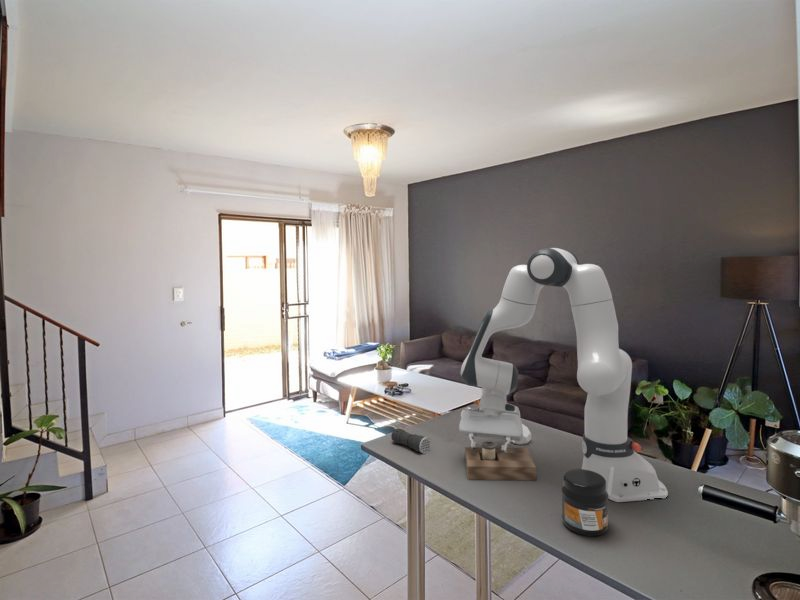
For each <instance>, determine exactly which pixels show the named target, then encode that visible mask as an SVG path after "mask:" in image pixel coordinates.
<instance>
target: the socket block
mask: <svg viewBox="0 0 800 600" xmlns="http://www.w3.org/2000/svg"><path fill="white" fill-rule="evenodd" d="M501 448H502V447H495V461H489V460H482V446H479V447H478V446H476V449H471V446H468V447H467V446H466V447H465V449H464V451H465V467H466V474H467V479H468V480H485V481H487V480H488V481H489V480H490V481H493V480H496V481H502V480H503V481H537V466H536V464H535V462H534V460H533V457H532V456H531V454H530V451H529V450H528V447H508V448H507V453H504V452H502V451H501Z"/></svg>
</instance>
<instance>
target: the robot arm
mask: <svg viewBox="0 0 800 600" xmlns="http://www.w3.org/2000/svg"><path fill="white" fill-rule="evenodd" d="M545 286H546V287H557V288H558V287H559V288H562V287H563V288H564V289H565V290H566V292H567V293H568V298H569V303H570V308H571V313H572V316H573V317H572V319H573V321H574V322H573V323H574V327H575V333H576V353H577V356H576V357H577V358H576V359H577V370H576V371H577V373H576V379H577V383H578V386H580V389H582V390H583V391H584V392H586V393H587V394H586V395H587V396H586V401H585V405H584V433H583V434H582V447H581V448H582V453H583V456H582V457H583V459H582V465H581V469H585V470H590V471H593V472H596V473H598V474H600V475H601V476H603V477H604V478H605V480H606V491H607V493H608V496H609V499H608V500H611V501H613V502H615V503H625V502H635V501H636V502H637V501H648V500H647V499H650V500H655V499H654V498H662V499H667V498H668V497H667V496H669V492H668V489H667V487H666V486H665V484H664V483H663V482H662V481H661V480H659V479H658V475H657V472H656V470H655V468H654V466H653V465H652V464H651V463H650V462H648V461H647V460H646V459H645V458H644V457H643V456H642V455H640V454H638V453H641V451H642V449H643V448H642V446H641V445H640V444H639V443H637V442H635V441H634V440H633V439H632V438H630V437H628V413H629V411H628V410H629V404H630V394H631V385H632V384H631V383H632V373H633V362H632V358H631V357H630V355H629V354H628V353H627V352H626V351H625V350H623V349H622V348H620V347H619V346H620V345H619V344H620V343H619V323H618V318H617V314H616V308H615V304H614V300H613V295H612V290H611V288H610V285H609V282H608V279H607V277H606V275H605V271H604V270H603V269H602V267H600V266H599V265H596V264H594V263H583V264H580V261H579V259H578V257H577V256H576V254H574V253H573V252H571V251H570V250H566V249H562V248H558V247H545V248H541V249H538V250H537V251H535V252H533V253H532V254H531V256H530V257H529V259H528V261H527V263H526V264H518V265H516V266H515V265H514V266H513V267H512V268H511V269H510V270H509V273H508V275H507V277H506V280H505V282H504V284H503V289H502V292H501V295H500V299H499V302H498V303H497V305H496V306H495V307H494V308H493V309H490V310H488V311H487V312H486V314H485V315H484V317H483V319H482V320H481V323H480V325H479V328H478V330H477V332H476V334H475V337H474V339H473V342H472V344H471V347H470V349H469V351H468V354H467V356H466V357H465V359H464V360H463V362H462V364H461V367H460V368H461V369H460V378H461V380H462V381H463V382H464V383H465V384H466V385H467V386H471V387H480V388H481V391H482V393H481V394H482V395H481V397H480V400H479V401H480V402H479V407H466V408H463V409H462V410H461V412H460V421H459V425H458V430H459V432H460V434H461V435H462V436H468V438H469V440H470V442H471V443H470V447H471V449H476V447H478V444H477V441H474V439H475V437H480V438H488V439H489V438H490V439H498V440H505V441H506V442H505V443H504V444H501V447H500V448H501V451H502V452H504V453H507V448H509V446H510V445H511V443H512V442H511V440H515V441H521V440H522V439H523V427H522V424H523V421H522V418H521V412H520V409H519V407H518V406H516V405H514V404H511V403H508V401H507V396H508V395H511V394H512V393H513V392H515V391H516V390H517V387H518V383H519V370H518V369H517V367H516V365H515V364H513V363H510V362H507V361H502V360H496V359H492V358H486V357H483V353H484V352H485V351H484V350H485V348H486V345H487V343H488V341H489V339H490V337H491V336H492V335H493V334H495V333H497V332H501V331H504V330H510V329H517V328H520V327H523V326H525V325H526V324H528V323H529V322H530V321H531V320H532V319H533V316H534V315H535V311H536V307H537V303H538V299H539V295H540V293H541V290H542V289H543V288H544V287H545ZM666 497H667V498H666Z"/></svg>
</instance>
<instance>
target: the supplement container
mask: <svg viewBox="0 0 800 600" xmlns="http://www.w3.org/2000/svg"><path fill="white" fill-rule="evenodd" d="M560 492H561V520H562V523H563V524H564V525H565V527H567V528H568V529H569V530H571V531H572V532H574V533H577V535H582V536H587V537H596V536H600V535H603V534H604V533H606V532H607V530H608V529H609V528H608V527H609V500H610V499H609V496H608V493H607V491H606V480H605V478H604V477H603V476H601V475H600V474H598V473H596V472H593V471H590V470H585V469H582V468H574V469H569V470H567V471H565V472H564V473H563V484H562V485H561V491H560Z"/></svg>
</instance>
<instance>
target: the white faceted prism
mask: <svg viewBox="0 0 800 600" xmlns="http://www.w3.org/2000/svg"><path fill="white" fill-rule="evenodd" d="M522 427H523V439H522V440H521V441H515V440H511V443H513V444H515V445H525V444H528V443H529V442H530V441H531V440H532V433H531V431H530V429H529V427H527V426H526V425H525V424H523V423H522Z"/></svg>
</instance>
